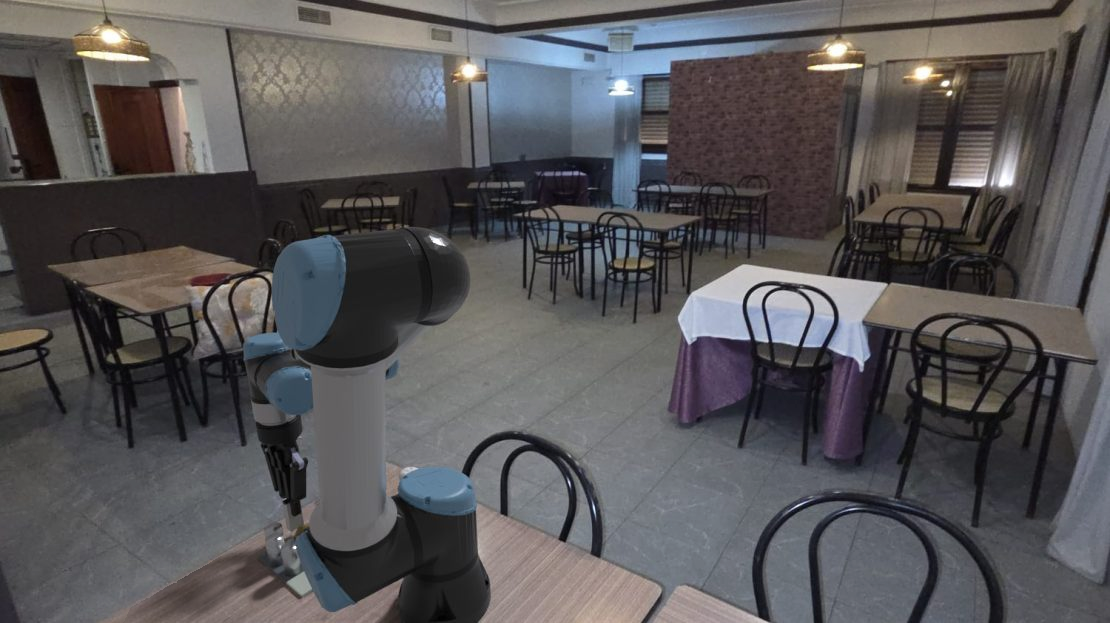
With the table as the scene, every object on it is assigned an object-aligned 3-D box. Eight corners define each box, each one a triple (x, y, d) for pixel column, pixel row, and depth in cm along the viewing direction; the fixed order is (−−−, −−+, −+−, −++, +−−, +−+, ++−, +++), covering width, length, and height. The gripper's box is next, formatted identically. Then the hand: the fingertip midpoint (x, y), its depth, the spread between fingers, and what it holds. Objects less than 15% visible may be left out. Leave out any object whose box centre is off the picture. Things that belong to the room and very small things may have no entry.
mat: (381, 546, 110) (381, 544, 110) (302, 597, 98) (301, 594, 98) (336, 516, 119) (336, 513, 119) (258, 559, 107) (258, 557, 107)
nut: (333, 539, 112) (331, 526, 111) (313, 556, 107) (311, 542, 106) (310, 532, 114) (308, 518, 113) (290, 548, 109) (287, 534, 108)
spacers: (363, 534, 113) (360, 512, 111) (287, 580, 101) (283, 556, 100) (332, 514, 119) (329, 493, 118) (257, 555, 108) (253, 532, 106)
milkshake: (422, 516, 119) (418, 473, 116) (397, 513, 120) (393, 470, 117) (431, 503, 123) (427, 461, 120) (407, 500, 124) (403, 459, 121)
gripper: (316, 419, 105) (331, 530, 112) (279, 400, 113) (296, 505, 120) (276, 435, 100) (294, 551, 107) (240, 414, 107) (259, 523, 114)
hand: (295, 526), depth 113 cm, fingers closed
